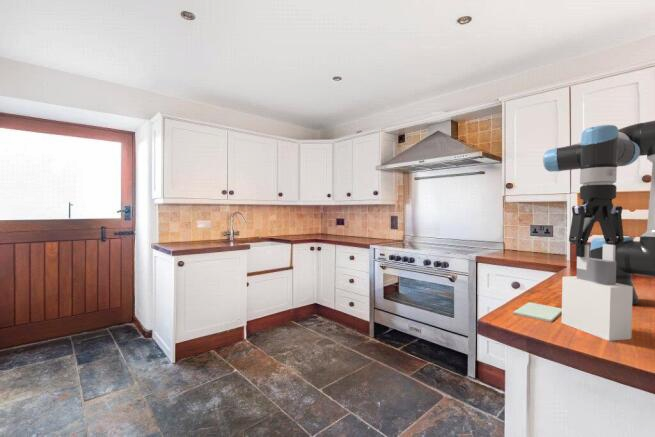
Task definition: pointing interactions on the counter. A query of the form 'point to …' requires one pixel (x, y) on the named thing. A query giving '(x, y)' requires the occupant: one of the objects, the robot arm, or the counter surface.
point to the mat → (538, 311)
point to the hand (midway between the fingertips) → (595, 268)
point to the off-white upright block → (598, 301)
